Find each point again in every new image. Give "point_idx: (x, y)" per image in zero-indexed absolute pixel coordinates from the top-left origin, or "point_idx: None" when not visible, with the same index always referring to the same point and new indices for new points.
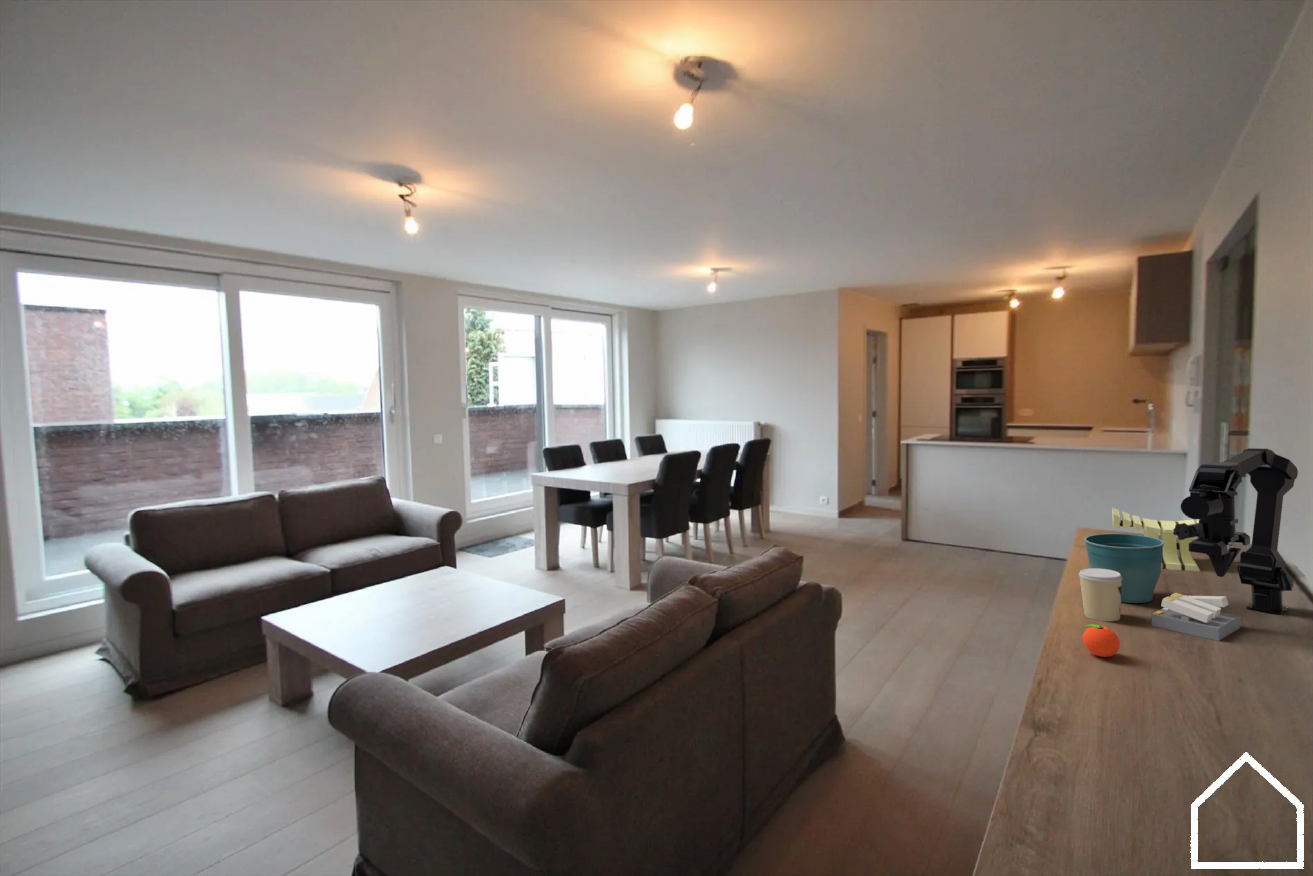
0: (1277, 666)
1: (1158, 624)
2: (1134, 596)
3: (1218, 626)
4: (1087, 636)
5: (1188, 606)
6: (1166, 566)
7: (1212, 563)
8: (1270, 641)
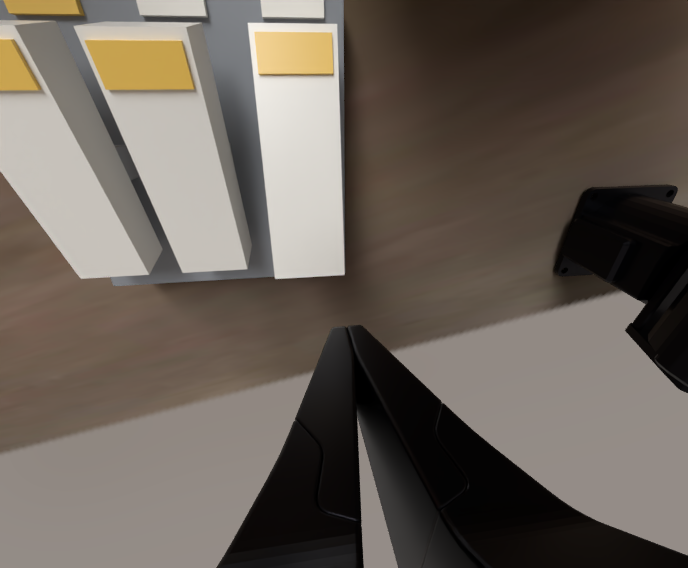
0: (95, 395)
1: None
2: None
3: (139, 278)
4: None
5: (49, 192)
6: None
7: (294, 425)
8: (274, 333)
